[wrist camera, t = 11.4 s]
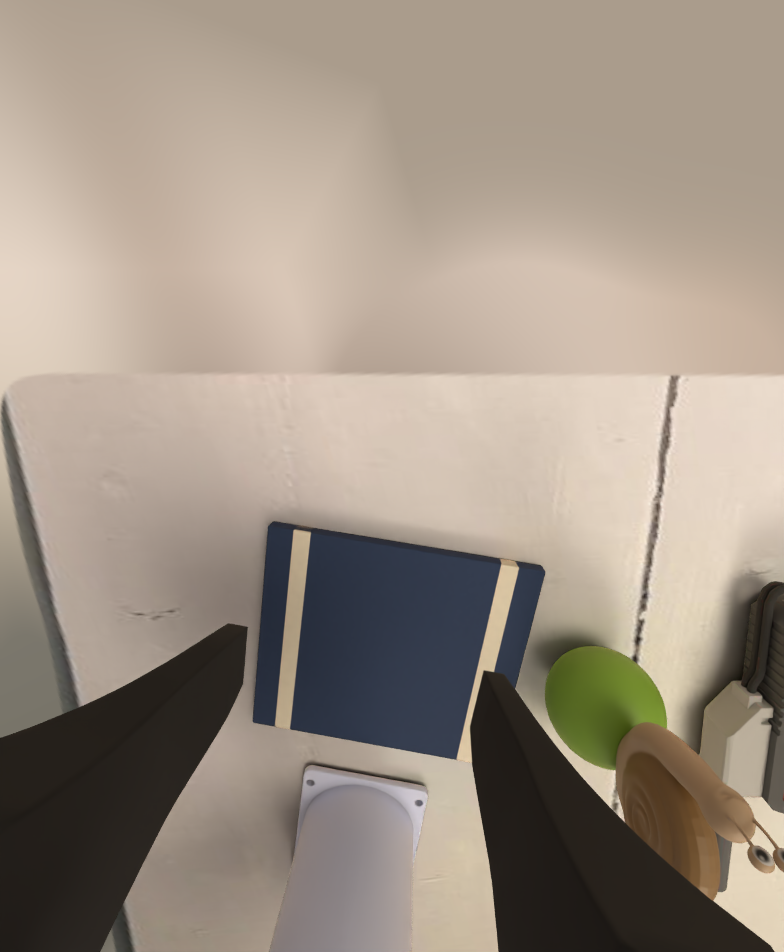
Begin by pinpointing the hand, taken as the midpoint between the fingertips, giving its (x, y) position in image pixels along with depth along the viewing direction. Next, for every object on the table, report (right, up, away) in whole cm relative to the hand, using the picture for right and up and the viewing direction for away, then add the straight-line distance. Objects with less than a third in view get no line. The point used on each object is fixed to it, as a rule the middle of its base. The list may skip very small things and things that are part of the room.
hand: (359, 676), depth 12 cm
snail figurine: (+12, -4, +11) cm, 17 cm away
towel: (+1, -4, +12) cm, 12 cm away
